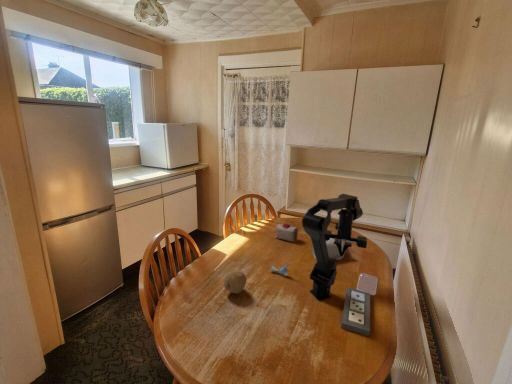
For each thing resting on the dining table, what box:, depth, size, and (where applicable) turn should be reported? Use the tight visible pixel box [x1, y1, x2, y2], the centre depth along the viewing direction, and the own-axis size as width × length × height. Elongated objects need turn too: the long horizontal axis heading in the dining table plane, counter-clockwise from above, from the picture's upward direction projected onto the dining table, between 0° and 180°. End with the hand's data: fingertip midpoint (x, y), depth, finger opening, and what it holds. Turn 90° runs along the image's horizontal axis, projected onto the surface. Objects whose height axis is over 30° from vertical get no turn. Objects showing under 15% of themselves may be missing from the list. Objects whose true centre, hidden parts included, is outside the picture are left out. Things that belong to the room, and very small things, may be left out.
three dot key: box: [349, 300, 364, 314], centre depth 97 cm, size 5×5×2 cm
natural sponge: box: [223, 269, 247, 295], centre depth 105 cm, size 9×9×10 cm
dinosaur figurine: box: [269, 259, 293, 277], centre depth 118 cm, size 2×13×8 cm
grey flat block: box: [340, 287, 371, 337], centre depth 97 cm, size 22×9×2 cm, turn 157°
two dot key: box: [347, 311, 364, 326], centre depth 91 cm, size 5×5×2 cm
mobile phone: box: [356, 272, 379, 296], centre depth 115 cm, size 8×1×15 cm
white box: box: [274, 222, 299, 243], centre depth 156 cm, size 14×8×10 cm, turn 60°
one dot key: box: [350, 291, 365, 303], centre depth 103 cm, size 5×5×2 cm
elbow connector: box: [311, 238, 345, 261], centre depth 138 cm, size 18×11×20 cm
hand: (341, 256), depth 114 cm, fingers closed
